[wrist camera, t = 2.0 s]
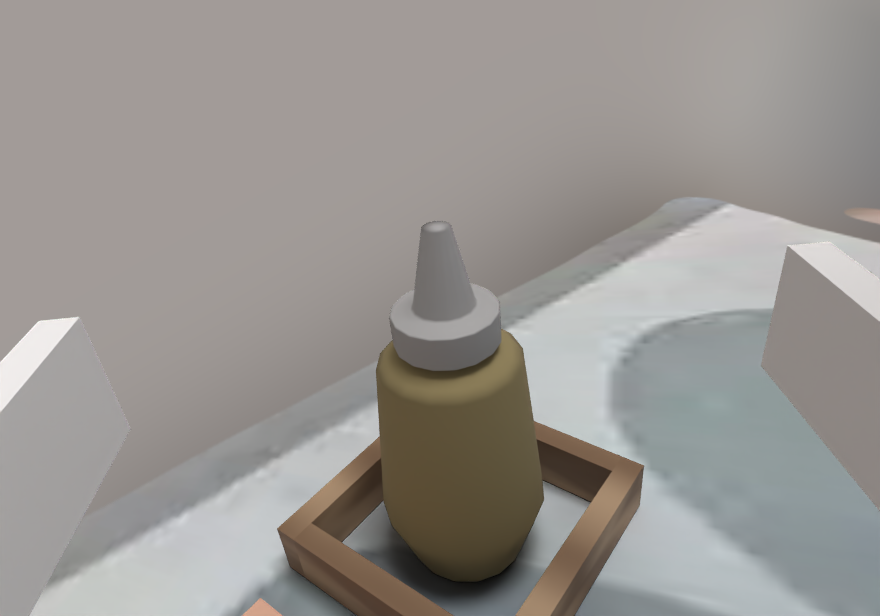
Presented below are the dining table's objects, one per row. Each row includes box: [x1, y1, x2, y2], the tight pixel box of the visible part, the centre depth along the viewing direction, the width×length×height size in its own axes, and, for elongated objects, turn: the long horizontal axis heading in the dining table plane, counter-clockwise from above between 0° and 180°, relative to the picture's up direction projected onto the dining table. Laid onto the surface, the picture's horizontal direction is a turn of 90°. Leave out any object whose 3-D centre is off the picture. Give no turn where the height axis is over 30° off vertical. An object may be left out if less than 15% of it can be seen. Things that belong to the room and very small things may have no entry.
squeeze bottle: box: [376, 221, 544, 582], centre depth 29 cm, size 8×8×18 cm
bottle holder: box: [277, 421, 644, 616], centre depth 33 cm, size 13×13×3 cm
